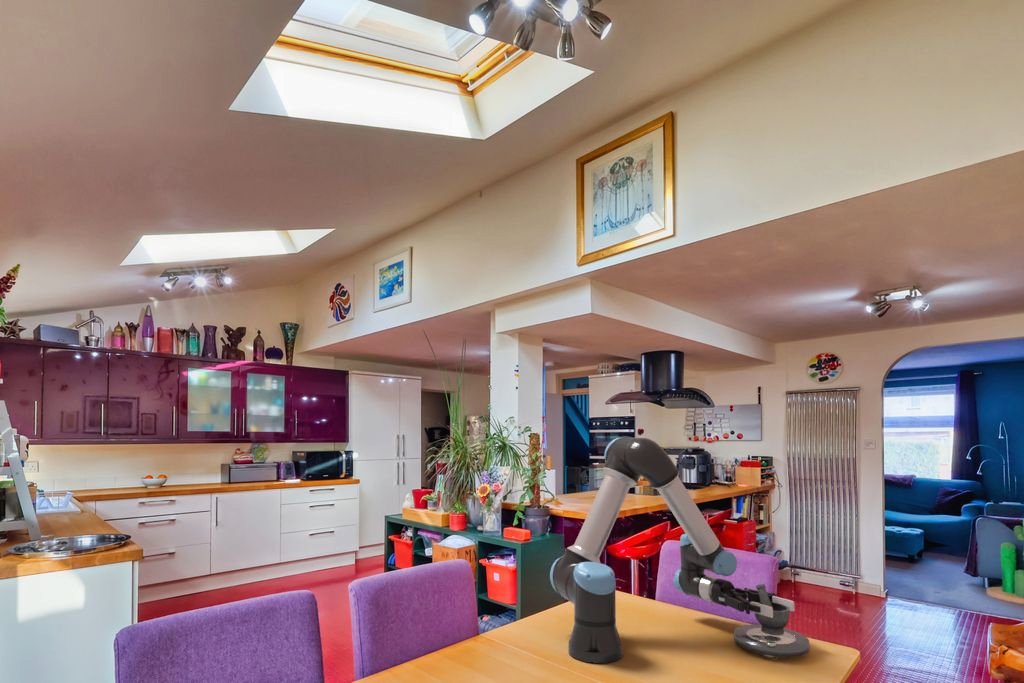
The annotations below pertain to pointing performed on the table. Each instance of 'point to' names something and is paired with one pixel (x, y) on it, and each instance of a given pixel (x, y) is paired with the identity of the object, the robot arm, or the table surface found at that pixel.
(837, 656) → the table surface
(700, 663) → the table surface
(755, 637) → the base
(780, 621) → the mortar and pestle
